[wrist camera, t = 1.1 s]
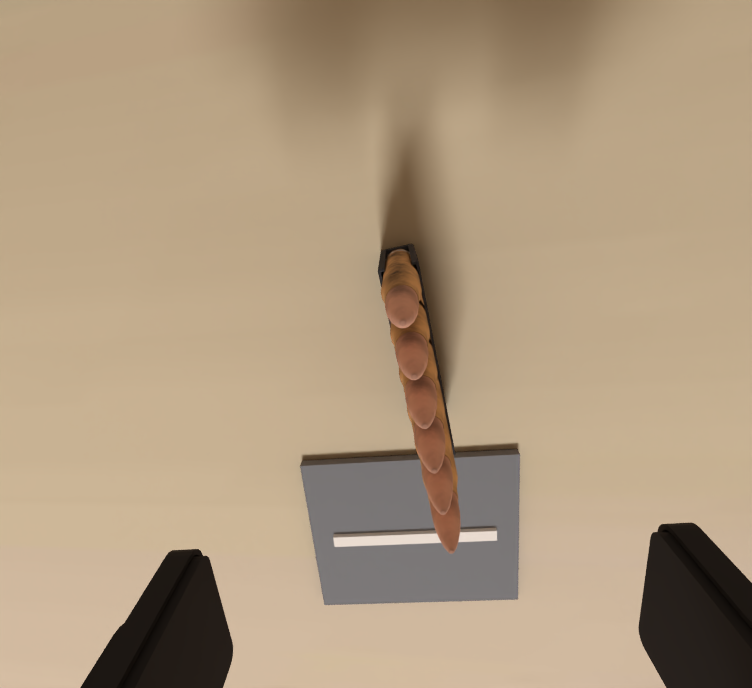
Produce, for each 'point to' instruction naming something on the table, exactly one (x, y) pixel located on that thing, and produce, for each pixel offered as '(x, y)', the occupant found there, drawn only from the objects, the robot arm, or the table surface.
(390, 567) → the mat
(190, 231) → the table surface
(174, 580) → the robot arm
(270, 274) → the table surface
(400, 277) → the ammunition clip
